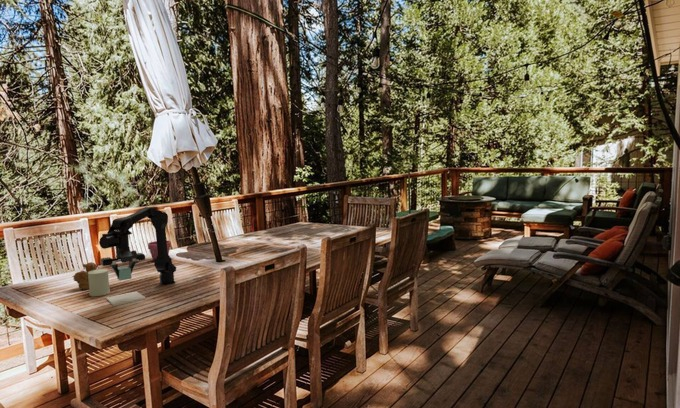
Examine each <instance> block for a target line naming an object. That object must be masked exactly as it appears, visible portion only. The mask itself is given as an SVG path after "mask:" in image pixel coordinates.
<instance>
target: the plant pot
mask: <svg viewBox="0 0 680 408" xmlns="http://www.w3.org/2000/svg"><path fill="white" fill-rule="evenodd" d="M166 241H167V252H168V255H169V256H170V254H169V253H170V248H171V247H172V245H171V241H170V240H166ZM147 247H148V248H147V249H148V250H149V252H150V255H151V256H150V257H151V258H152V261H153V262H154V259H155V258H156V257H157V255H158V252H157V241H156V240H155V241H150V242H148V243H147Z"/></svg>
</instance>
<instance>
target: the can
mask: <svg viewBox="0 0 680 408" xmlns="http://www.w3.org/2000/svg"><path fill="white" fill-rule="evenodd" d="M88 280H89V289H88V290H89V291H88V292H89V293H88V294H89V296H91V297H100V296H101V297H102V296H105V295H107V294H110V292H111V291H110V279H109V269H106V268H101V269H100V268H99V269H98V268H97V269H96V270H93V271H89V272H88Z"/></svg>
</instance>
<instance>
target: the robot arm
mask: <svg viewBox="0 0 680 408" xmlns="http://www.w3.org/2000/svg"><path fill="white" fill-rule="evenodd" d="M168 215H169V214H168V213H167V212H165V211H162V210H159V209H157V208H155V207H152V206H145V207H143V208H141V209H139V210H138V211H135V212H134V213H132V214H130V215H127V216H124V217H118V218H115V219H113V220H112V223H111V225H110V227H109V229H108V230H107V233H102V235H101V237H100V238H99V241H98V244H99V246H100V248H101V249H104V250H106V249H110V248H111V249H112V248H115V257H116V258H115V257H114V258H111V256H110V257H108V256H107V257H101V258H100V259H99V260H100V261H99V264H100V265H101V266H102V267H105V266H110V267H112V269H113V271H114V273H115V275H116V277H118V278H119V272H118V268H119V266H118V262H121V263H122V264H126V263H128V267H129V268H131V275H132V273H133V270H134V267H135V265H136V264H137V263H139V261H145V260H146V255H145V254H144V253H142V252H138V253H137V250H132V251H131V248H130V243H129V235H132V234H133V232H132V231H130V229H131V228H132V227H133V226H134V224H136V223H138V222H139V221H142V220H144V219H145V218H147V219H149V220H150V222H151V225H152V226H153V228H154V229H155V241H157V252H158V255H157V257H156V258H155V259H154V265H153V267H155V269H156V271H157V273H160V274H159V275H158V276H159V278H158V279H159V283H160V284H161V285H162V286H163V285H165V286H166V285H169V284H174V283H176V281H175V274H174V273H175V272H176V271H177V266H175V264H174V263H173V261H172V258H171V256H170V254H169V255H168V252H167V241H168V240H167V233H166V232H167V231H166V227H167V225H168V223H169V216H168Z"/></svg>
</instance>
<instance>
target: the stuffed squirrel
mask: <svg viewBox="0 0 680 408" xmlns="http://www.w3.org/2000/svg"><path fill="white" fill-rule="evenodd" d="M82 266H83V268H85V270H81V271H77V272H75V273H74V275H73V276H72V278H73V282H76V283H77V284H78V288H79V289H81V290H89V280H88V272H89V271H93V270H98V269H100V267H99V266H98V265H97V264H96V263H95V262H93V261H92V262H87V263H83V264H82Z"/></svg>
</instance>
